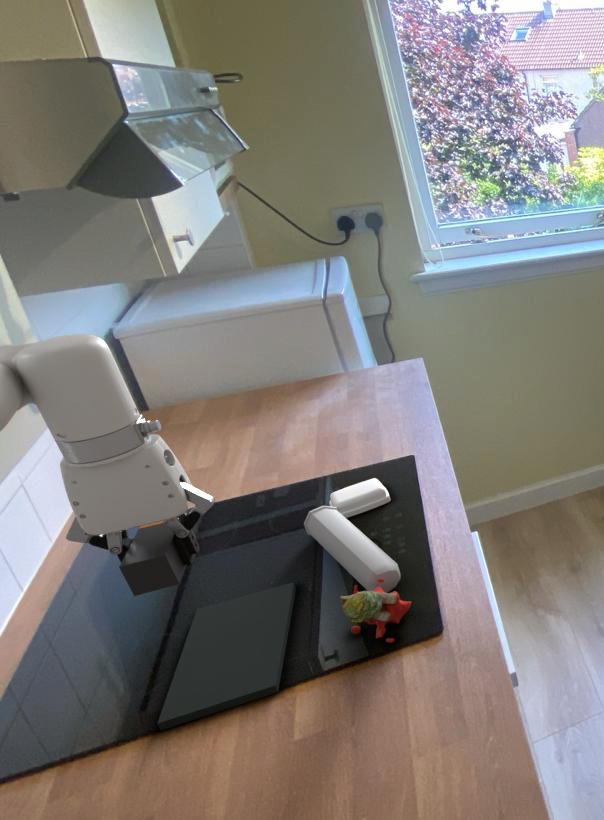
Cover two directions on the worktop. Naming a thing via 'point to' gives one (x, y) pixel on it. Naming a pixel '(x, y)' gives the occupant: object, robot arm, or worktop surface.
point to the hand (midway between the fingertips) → (166, 564)
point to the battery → (152, 560)
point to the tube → (352, 549)
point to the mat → (230, 655)
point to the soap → (359, 497)
